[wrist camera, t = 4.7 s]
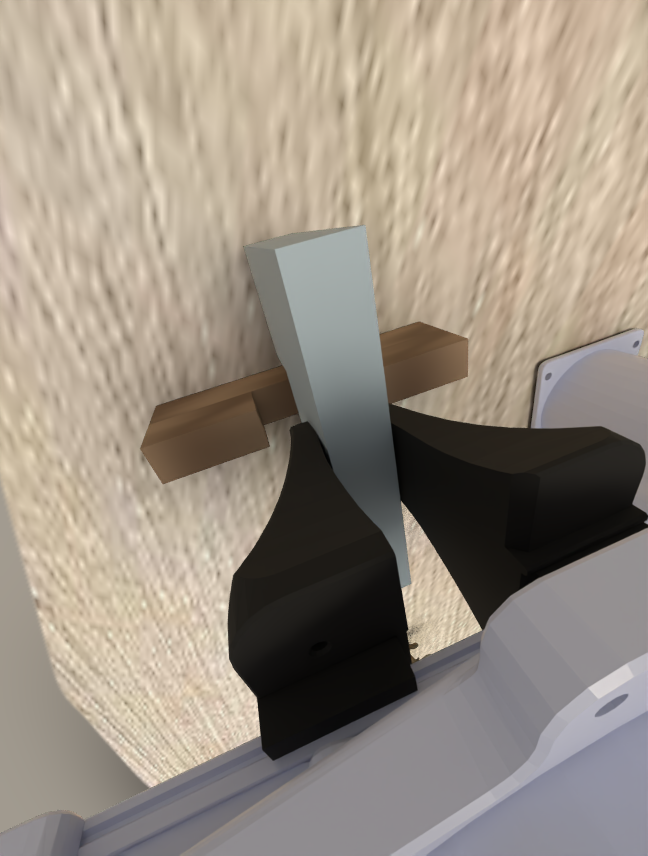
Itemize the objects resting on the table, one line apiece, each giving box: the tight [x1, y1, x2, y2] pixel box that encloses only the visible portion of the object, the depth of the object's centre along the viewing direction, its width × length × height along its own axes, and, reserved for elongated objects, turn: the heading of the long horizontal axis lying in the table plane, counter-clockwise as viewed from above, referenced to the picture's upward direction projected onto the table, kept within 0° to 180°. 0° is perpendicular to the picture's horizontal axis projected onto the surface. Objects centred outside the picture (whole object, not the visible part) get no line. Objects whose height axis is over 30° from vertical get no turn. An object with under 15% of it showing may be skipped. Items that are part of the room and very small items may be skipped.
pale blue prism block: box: [243, 225, 411, 588], centre depth 12 cm, size 12×2×7 cm, turn 13°
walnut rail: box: [140, 322, 468, 484], centre depth 15 cm, size 14×2×4 cm, turn 103°
